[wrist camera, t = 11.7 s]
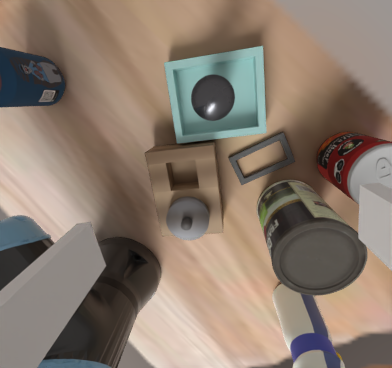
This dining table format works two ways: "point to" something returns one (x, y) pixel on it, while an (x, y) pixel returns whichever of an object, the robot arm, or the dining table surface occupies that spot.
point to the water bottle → (305, 330)
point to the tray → (243, 88)
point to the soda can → (28, 80)
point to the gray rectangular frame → (269, 169)
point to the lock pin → (213, 97)
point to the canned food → (355, 162)
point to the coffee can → (308, 240)
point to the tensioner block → (186, 189)
